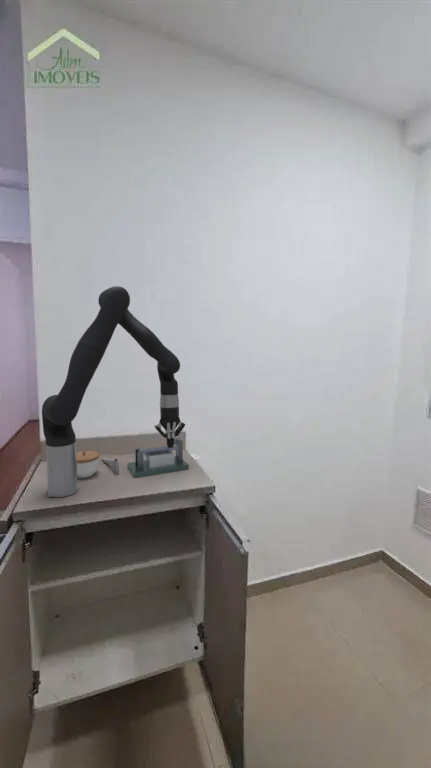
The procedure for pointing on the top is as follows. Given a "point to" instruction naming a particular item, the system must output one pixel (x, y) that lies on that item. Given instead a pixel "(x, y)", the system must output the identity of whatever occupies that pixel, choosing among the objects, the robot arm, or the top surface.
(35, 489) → the top surface
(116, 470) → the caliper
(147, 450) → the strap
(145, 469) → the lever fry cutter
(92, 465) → the lidded jar
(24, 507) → the top surface
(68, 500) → the top surface
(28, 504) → the top surface
